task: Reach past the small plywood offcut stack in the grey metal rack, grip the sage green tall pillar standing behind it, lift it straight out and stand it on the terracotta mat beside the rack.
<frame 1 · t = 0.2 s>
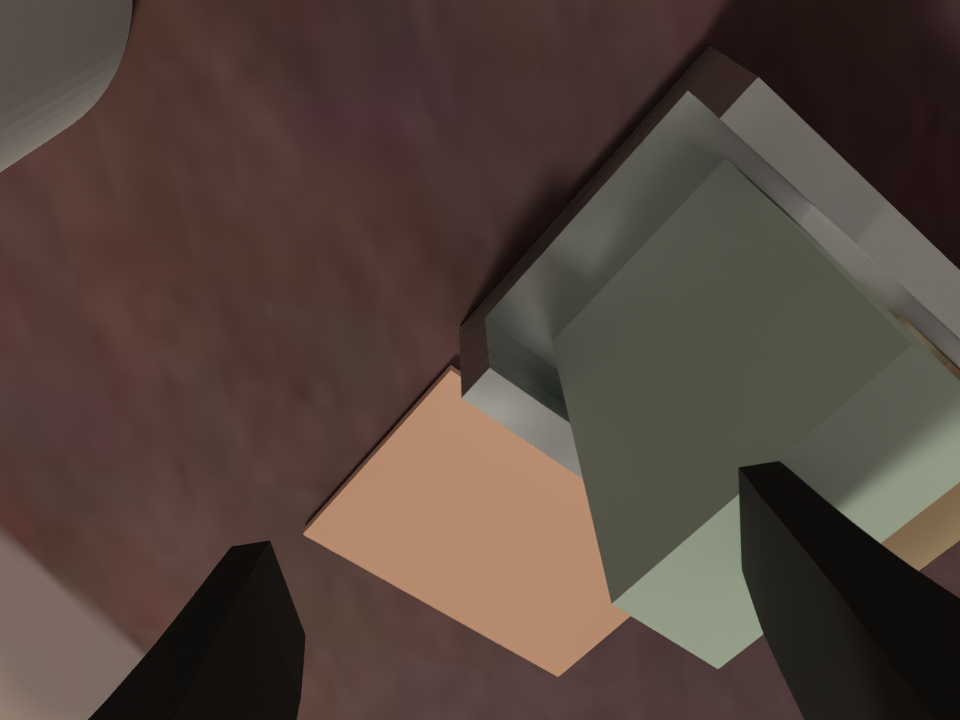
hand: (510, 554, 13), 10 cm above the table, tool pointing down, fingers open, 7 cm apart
offcut stack: (839, 419, 23), point 1 cm above the table, touching rack
sage green tall pillar: (671, 284, 21), point 1 cm above the table, touching rack
mat: (509, 534, 26), on the table
rack: (729, 322, 23), on the table
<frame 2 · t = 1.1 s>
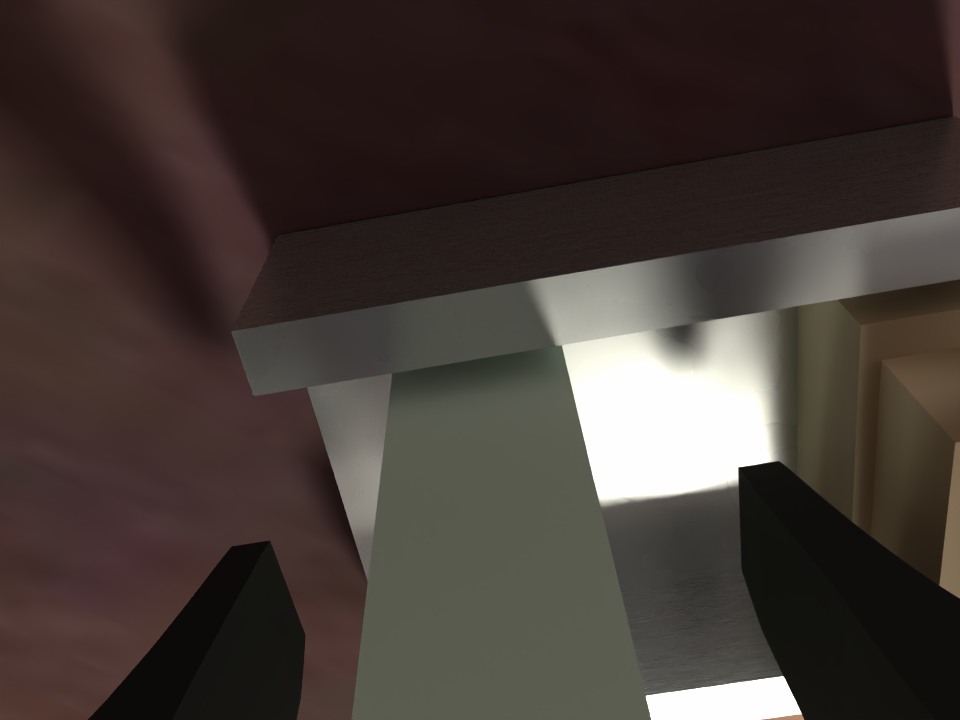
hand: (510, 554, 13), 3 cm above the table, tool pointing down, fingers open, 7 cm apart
offcut stack: (866, 404, 15), point 1 cm above the table, touching rack
sage green tall pillar: (503, 461, 16), point 1 cm above the table, touching rack
rack: (632, 409, 16), on the table
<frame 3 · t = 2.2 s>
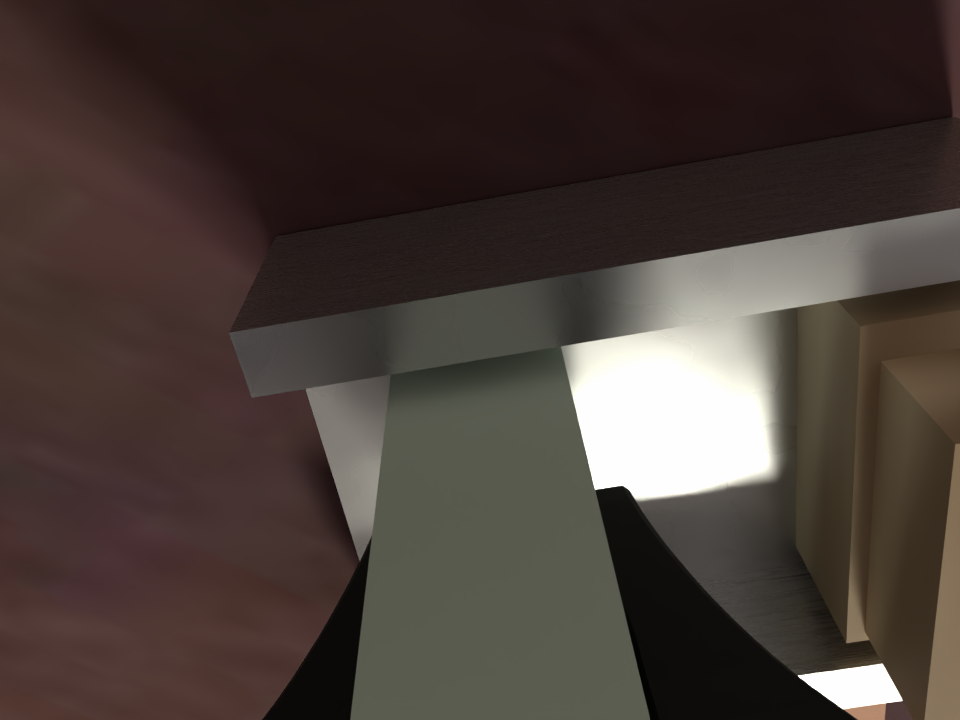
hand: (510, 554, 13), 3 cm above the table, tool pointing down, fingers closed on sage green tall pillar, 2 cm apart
offcut stack: (866, 405, 15), point 1 cm above the table, touching rack
sage green tall pillar: (502, 463, 15), point 1 cm above the table, touching gripper, rack
rack: (632, 410, 16), on the table
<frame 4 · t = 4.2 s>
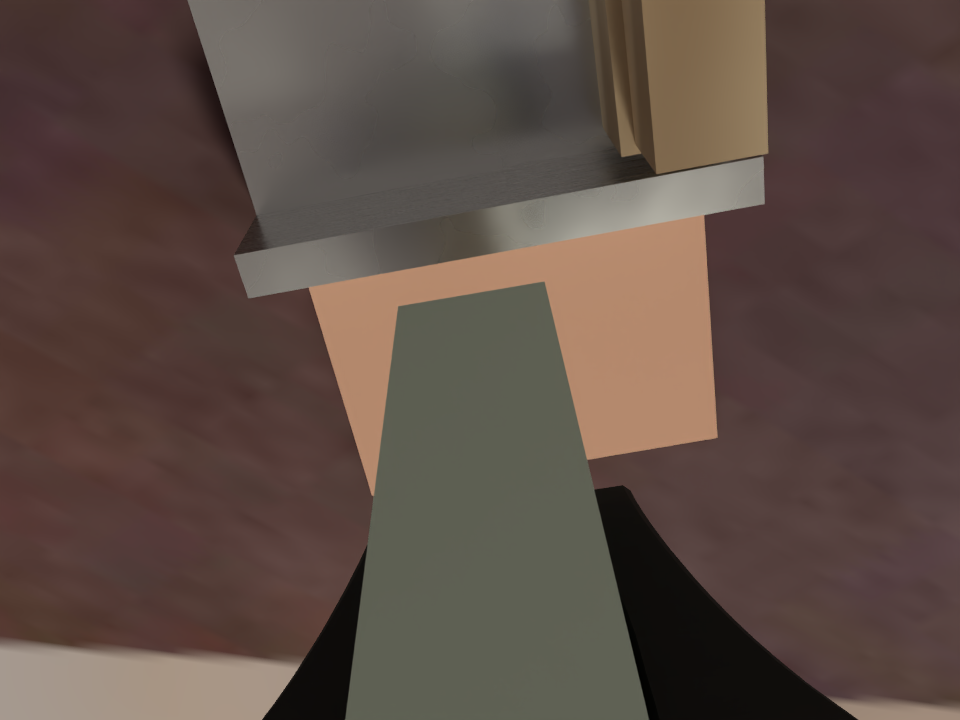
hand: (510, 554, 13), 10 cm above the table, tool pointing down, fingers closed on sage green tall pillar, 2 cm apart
sage green tall pillar: (499, 440, 16), point 7 cm above the table, touching gripper
mat: (522, 356, 24), on the table
rack: (459, 5, 19), on the table
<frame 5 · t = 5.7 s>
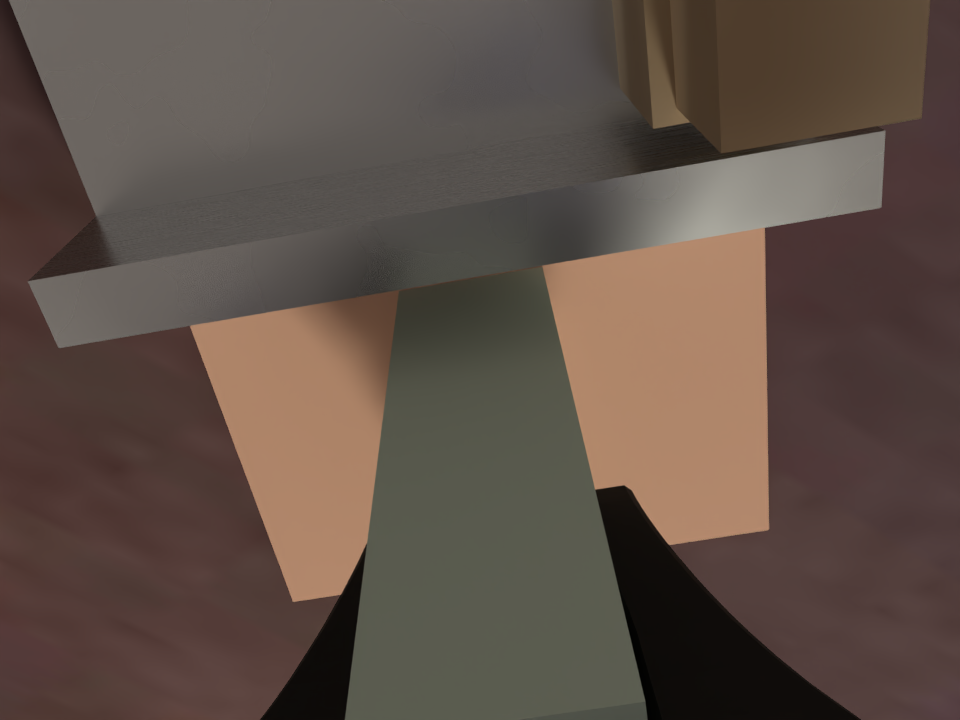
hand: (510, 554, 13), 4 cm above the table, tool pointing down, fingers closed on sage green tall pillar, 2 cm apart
sage green tall pillar: (498, 423, 16), resting on mat, touching gripper
mat: (499, 419, 17), on the table
when the fingers open (4 cm above the table, at t = 6.4 s): sage green tall pillar stays where it is, resting on mat.
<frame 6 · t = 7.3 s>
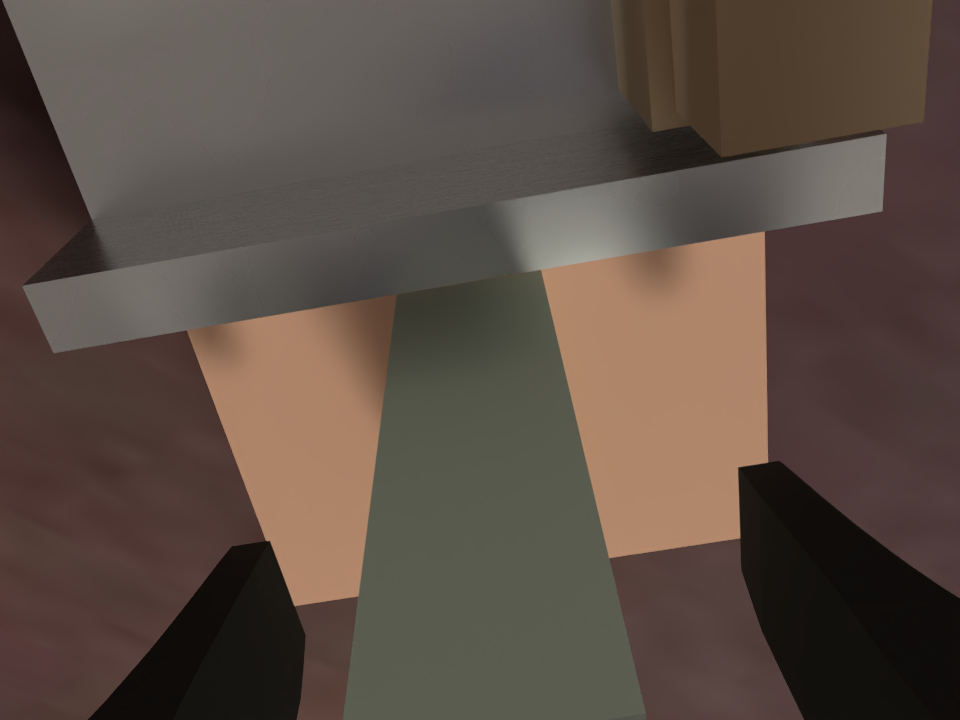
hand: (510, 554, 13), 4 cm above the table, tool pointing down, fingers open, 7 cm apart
sage green tall pillar: (496, 427, 16), resting on mat
mat: (498, 422, 17), on the table
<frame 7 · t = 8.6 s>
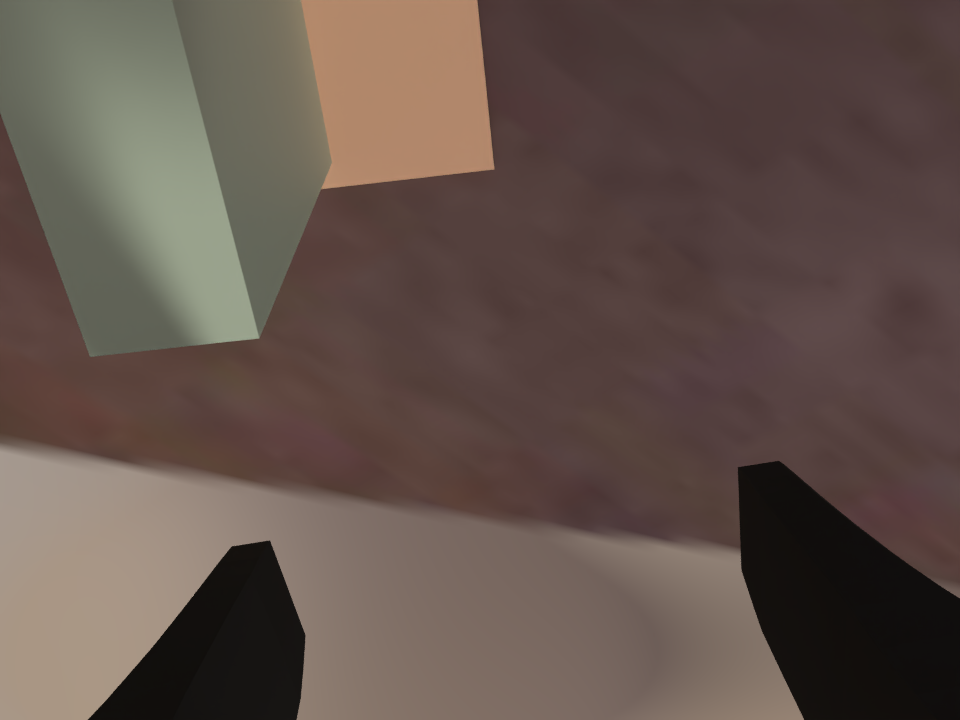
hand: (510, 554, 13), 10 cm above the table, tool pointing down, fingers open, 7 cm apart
sage green tall pillar: (250, 35, 19), resting on mat
mat: (255, 37, 19), on the table
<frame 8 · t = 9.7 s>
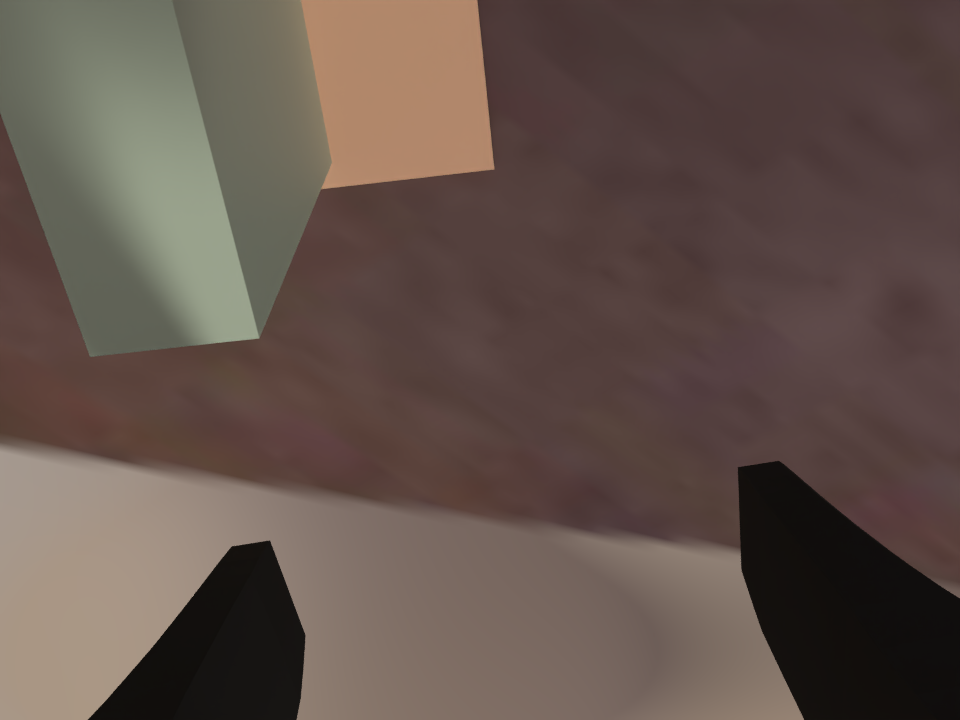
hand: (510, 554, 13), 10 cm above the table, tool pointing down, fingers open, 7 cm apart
sage green tall pillar: (250, 35, 19), resting on mat
mat: (255, 37, 19), on the table
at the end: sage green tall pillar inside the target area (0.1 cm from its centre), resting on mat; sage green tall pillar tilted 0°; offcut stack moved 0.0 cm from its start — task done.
